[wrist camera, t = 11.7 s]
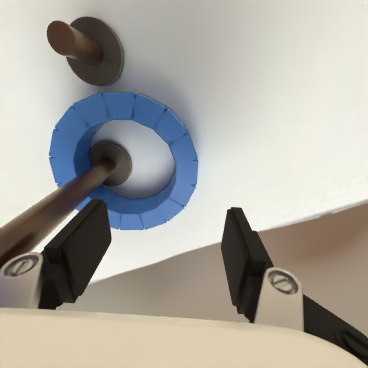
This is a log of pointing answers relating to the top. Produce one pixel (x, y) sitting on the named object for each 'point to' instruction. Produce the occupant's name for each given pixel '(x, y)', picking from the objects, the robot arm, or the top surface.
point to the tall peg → (63, 201)
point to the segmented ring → (144, 114)
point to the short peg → (88, 49)
